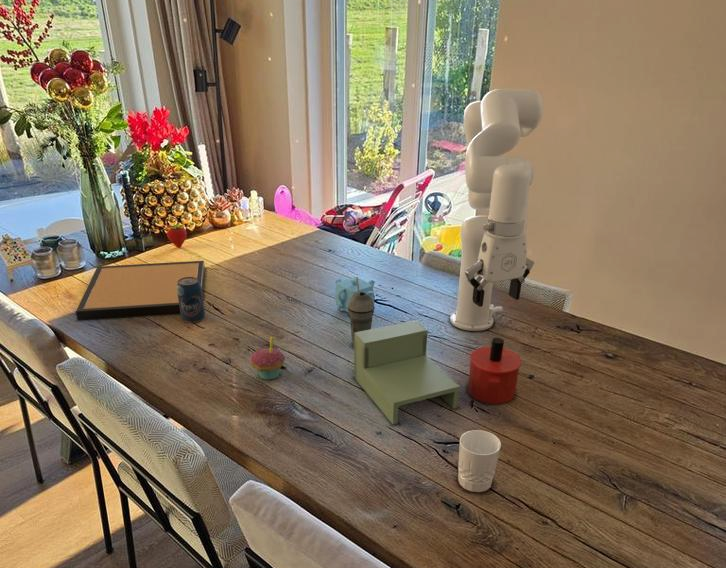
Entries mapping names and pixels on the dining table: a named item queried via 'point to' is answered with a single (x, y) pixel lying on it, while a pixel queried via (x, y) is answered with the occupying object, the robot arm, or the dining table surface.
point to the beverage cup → (360, 311)
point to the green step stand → (399, 368)
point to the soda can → (190, 299)
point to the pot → (491, 386)
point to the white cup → (477, 460)
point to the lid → (495, 358)
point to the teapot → (351, 291)
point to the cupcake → (267, 361)
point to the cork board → (136, 289)
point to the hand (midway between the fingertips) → (495, 300)
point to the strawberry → (177, 235)
